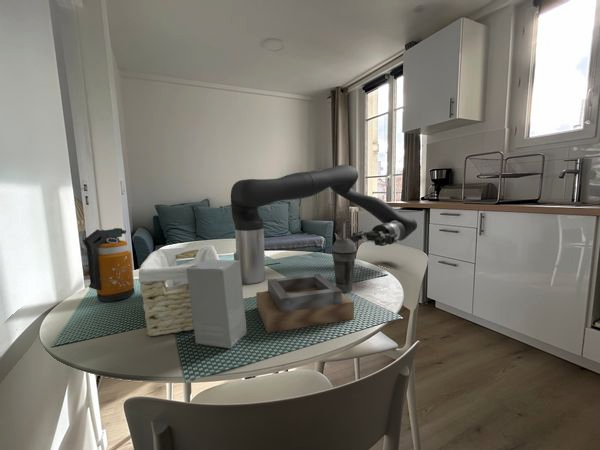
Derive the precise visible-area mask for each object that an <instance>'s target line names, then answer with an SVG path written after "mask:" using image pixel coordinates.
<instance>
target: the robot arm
mask: <svg viewBox="0 0 600 450" xmlns="http://www.w3.org/2000/svg"><path fill="white" fill-rule="evenodd" d="M358 179H359V172H358V170H357V169H356V168H355V167H354V166H353V165H352V166H351V165H350V164H340V165H337V166H331V167H328V168H325V169H317V170H311V171H300V172H293V173H290V174H286V175H284V176H282V177H278V178H267V179H264V178H262V179H255V178H250V179H249V178H248V179H241V180H237V181H236V182H235V183H234V184H233V185H232V186H231V191H230V206H231V217H232V222H233V224H234V233H235V234H234V235H235V237H234V238H235V252H234V253H233V260H237V261H240V271H241V280H242V284H246V285H248V284H249V285H251V284H258V283H262V282H264V281H265V280H266V264H265V262H266V260H265V234H264V233H265V232H264V230H265V229H264V220H263V219H262V217H260V214H259V211H258V210H259V209H258V208H260V207H263V206H266V205H269V204H272V203H275V202H279V201H292V200H293V201H294V200H298V199H299V200H301V199H306V198H309V197H310V198H311V197H313V196H316V195H318V194H319V193H321V192H323V191H325V190H327V189H328V188H330V189H331V190H332V192H334V193H335V194H337V195H338V196H340V197H342V198H343V199H346V200H348V201H349V202H351V203H352V204H355V206H356V205H357V206H358V207H360V208H362V209H363V210H365V211H366V212H367V213H370V214H371V215H372V216H374V218H376V219H377V220H378V221H380V222H381V224H377V225H375V226H373V228H372V229H371V230H369V231H363V230H359V231H357V232H352V235H351V236H350V239H351V240H352V241H353V242H354V243H357V242H363V243H369V242H370V243H374V245H375V246H380V247H384V246H387V245H393V244H396V243H397V242H398V241H400V242H401V241H404V240H405V239H406V238H408V237H409V236H410V235H411V234H412V233H413V232H414V231H416V230H417V228H418V223H417V221H416V219H415V218H413V217H412V216H410V215H408V214H406V213H403V212H400V211H398V210H396V209H394V208H393V207H392V206H390V205H389V204H388V203H387V202H385V201H384V200H382V199H381V198H378V197H376V196H370V195H366V194H363V193H360V192H358V191H356V190H355V189H353V188H352V187H353V186H354V185H355V184H356V182H357V181H358Z"/></svg>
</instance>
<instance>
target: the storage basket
mask: <svg viewBox="0 0 600 450" xmlns="http://www.w3.org/2000/svg"><path fill="white" fill-rule="evenodd" d="M178 259H192V260H190V261H187V262H184V263H181V264H178V263H177V262H178V261H177V260H178ZM204 260H221V259H220V257H219V255H218V252H217V251H216V248H215V247H214V246H213V245H212V244H211V245H209V244H207V245H200V246H198V245H197V246H186V247H185V246H184V247H183V246H182V247H176V248H164V249H163V248H161V249H157V250H154V251H153V252H151V253H149V255H148V256H147V258H146V259H145V260H144V261H143V262H142V263H141V265H140V267H139V269H138V282H139V284H140V285H139V288H140V289H139V290H140V292H141V297H142V303H143V311H144V313H145V314H144V318H145V323H146V330H147V332H145V333H146V334H147V335H148V336H153V337H154V336H155V337H156V336H161V335H169V334H173V333H174V334H175V333H176V334H177V333H180V332H182V331H186V332H188V331H189V332H190V331H192V330H193V331H194V325H193V317H192V309H191V301H190V293H189V285H188V278H187V270H186V268H188V267H191V266H193V265H195V264H198V263H200V262H202V261H204Z"/></svg>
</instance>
